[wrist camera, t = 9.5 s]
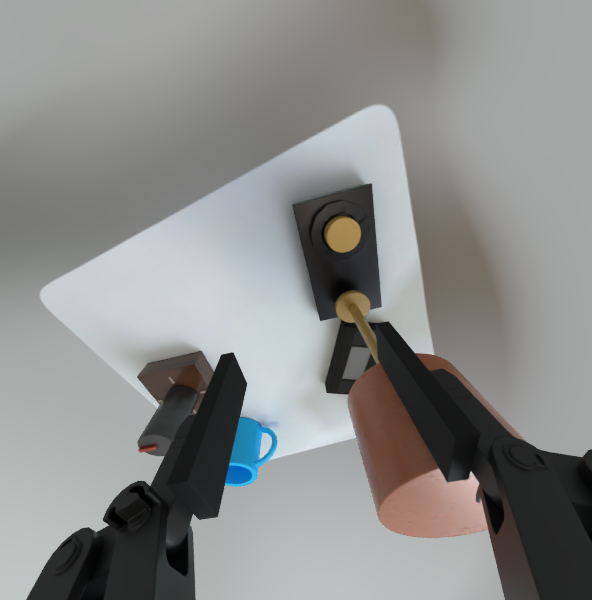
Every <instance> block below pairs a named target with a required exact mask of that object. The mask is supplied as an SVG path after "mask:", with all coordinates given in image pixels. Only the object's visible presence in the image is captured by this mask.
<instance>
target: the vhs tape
mask: <svg viewBox="0 0 592 600" xmlns="http://www.w3.org/2000/svg"><path fill="white" fill-rule="evenodd" d="M368 324H369V326H370V327H371V329H372V331H373V332H374V334H375V336H376V324H377V323H368ZM374 365H376V362H375V360H374V358H373V356H372V354H371V352H370V350H369V348H368V347H367V345H366V343H365V341H364V339H363V337H362V335H361V333H360V331H359V329H358V327H357V325H356V323H355V322H353V323H349V322H345V321H343V320H342V321H341V325H340V329H339V333H338V337H337V341H336V345H335V348H334V352H333V356H332V360H331V364H330V368H329V372H328V376H327V380H326V383H325V386H326V391H327V393H334V394H349V392H350V390H351V388H352V386H353V384H354V383H355V381H356V380H357V379H358V378H359V377H360V376H361V375H362V374H363V373H364V372H365V371H367V370H368V369H369V368H371V367H373V366H374Z"/></svg>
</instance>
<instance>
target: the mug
mask: <svg viewBox="0 0 592 600" xmlns="http://www.w3.org/2000/svg"><path fill="white" fill-rule="evenodd" d="M262 432H264V433H268V434H269V435H270V436H271V437H272V445H271V448H270V450H269V452H268V453H267V454H266V455H265V456H264V457H263V458H261V459H260V460H259V455H260V446H261V437H262ZM276 447H277V437H276V435H275V433H274V432H273V431H272V430H270V429H269V428H264V427H261V425H260V424H259V423H258V422H256V421H254V420H252V419H249V418H239V423H238V427H237V432H236V436H235V441H234V445H233V450H232V455H231V459H230V464H229V468H228V473H227V477H226V482H225V485H227V486H245V485H248V484H250V483H252V482H254V480H256V478H257V472H258V467H259V466H261V465H262V464H264V463H265V462H267V461H268V460H269V459H270V458H271V457H272V456H273V454H274V452H275V450H276Z"/></svg>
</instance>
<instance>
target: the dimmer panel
mask: <svg viewBox="0 0 592 600" xmlns="http://www.w3.org/2000/svg"><path fill="white" fill-rule="evenodd" d="M213 373H214V371H213V370H212V368H211V366H210V365H209V363H208V361H207V360H206V358H205V356H204V354H203V353H202V351H201V352H196V353H192V354H188V355H183V356H179V357H174V358H170V359H166V360H161V361H157V362H152V363H148V364H147V365H146V366H145V368H144V369H143V370H142V371H141V372H140V374H139V375H138V376H137V378H138V379H139V380H140V381H141V382H142V384H143V385H144V386H145V387H146V388H147V390H148V391H149V392H150V393H151V395H152V396H153V397H154V398H155V399H156V401H157V402H158V403H159V404H161V402H162V401H163V399H164V397H165V396H166V394H167V393H168V391H169V390H170V389H171V388H172V387H175V386H186V387H189V388H191V389H193V390H194V391H195V392H196V393H197V394H198V401H197V404H196V406H195V408H194V410H193V412H192V415H194V414H196V413H197V411H198V409H199V406H200V404H201V402H202V399H203V397H204V395H205V392H206V390H207V388H208V385H209V383H210V381H211V378H212V376H213Z"/></svg>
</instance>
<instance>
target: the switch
mask: <svg viewBox="0 0 592 600" xmlns="http://www.w3.org/2000/svg"><path fill="white" fill-rule="evenodd" d="M324 237H325V240H326V242H327V243H328V245H329V246H330V247H331V248H332V249H333V250H334V251H336V252H341V253H343V252H348V251H350V250H352V249H353V248H354V247H355V246H356V245H357V244H358V242H359V240H360V237H361V230H360V226H359V224H358V223H357V222H356V221H355V220H353V219H351V218H349V217H346V216H337V217H334V218H333V219H331V220H330V221H329V222H328V223H327V225H326V227H325V230H324Z"/></svg>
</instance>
